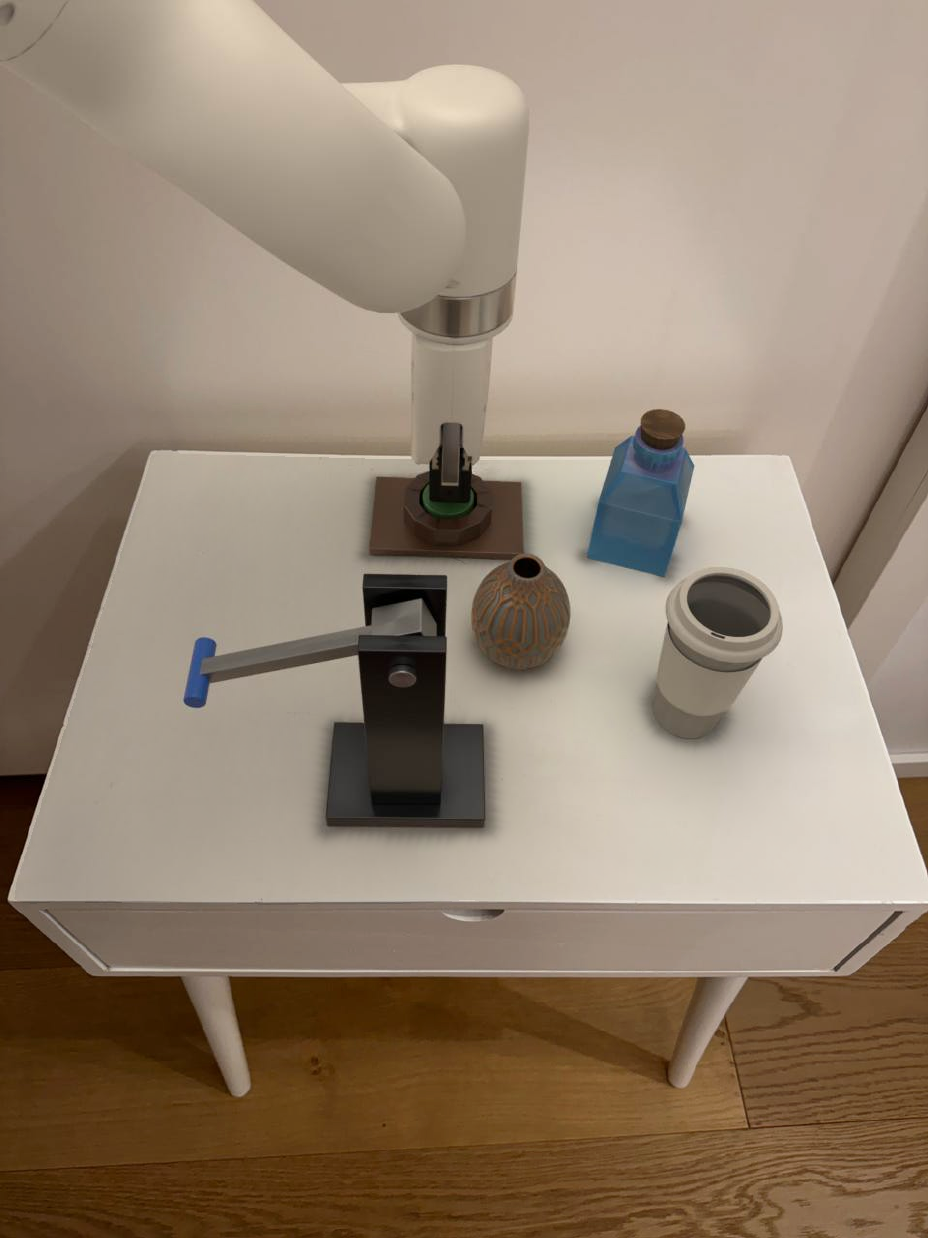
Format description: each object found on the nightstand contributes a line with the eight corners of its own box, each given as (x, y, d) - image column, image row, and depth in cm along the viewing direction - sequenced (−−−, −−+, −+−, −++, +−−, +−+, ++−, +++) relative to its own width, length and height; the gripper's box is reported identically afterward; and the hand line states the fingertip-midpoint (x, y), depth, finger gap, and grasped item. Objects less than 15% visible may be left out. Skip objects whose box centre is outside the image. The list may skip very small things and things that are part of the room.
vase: (484, 693, 67) (491, 617, 60) (458, 617, 71) (462, 537, 64) (577, 673, 68) (594, 596, 61) (546, 600, 72) (559, 520, 65)
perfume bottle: (586, 557, 75) (610, 442, 65) (602, 503, 79) (627, 387, 69) (664, 576, 74) (700, 462, 64) (677, 521, 78) (713, 405, 68)
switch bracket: (326, 826, 60) (298, 666, 46) (335, 730, 65) (311, 557, 50) (484, 828, 61) (503, 669, 47) (482, 732, 65) (499, 561, 51)
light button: (421, 529, 75) (421, 513, 73) (423, 492, 77) (423, 476, 76) (472, 530, 75) (473, 515, 74) (473, 494, 77) (474, 478, 76)
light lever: (195, 715, 53) (172, 693, 51) (207, 656, 55) (185, 632, 53) (436, 671, 49) (421, 645, 47) (437, 610, 52) (422, 583, 50)
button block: (369, 554, 74) (367, 532, 72) (376, 482, 79) (375, 459, 77) (522, 560, 75) (525, 538, 73) (520, 487, 79) (523, 465, 77)
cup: (622, 728, 66) (656, 622, 56) (650, 656, 69) (687, 546, 60) (723, 767, 64) (775, 665, 54) (746, 692, 68) (799, 584, 58)
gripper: (402, 222, 65) (406, 429, 79) (388, 361, 56) (396, 566, 70) (513, 226, 65) (497, 432, 79) (517, 366, 56) (498, 569, 70)
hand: (449, 494), depth 75 cm, fingers closed
